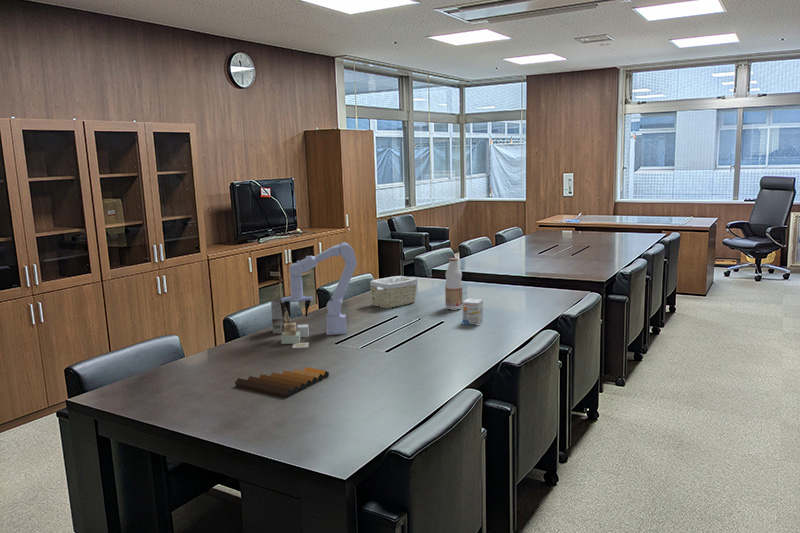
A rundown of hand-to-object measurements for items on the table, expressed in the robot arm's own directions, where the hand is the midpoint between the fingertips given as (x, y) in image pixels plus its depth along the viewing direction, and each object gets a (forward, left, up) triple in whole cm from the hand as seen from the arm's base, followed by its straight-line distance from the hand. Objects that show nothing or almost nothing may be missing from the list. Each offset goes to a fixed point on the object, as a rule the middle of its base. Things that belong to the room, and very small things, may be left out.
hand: (298, 316), depth 296 cm
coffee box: (+9, -9, -10) cm, 16 cm away
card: (-2, +17, -9) cm, 20 cm away
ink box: (-86, -8, -10) cm, 87 cm away
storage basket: (-50, -57, -10) cm, 76 cm away
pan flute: (+1, +63, -10) cm, 64 cm away
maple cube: (+3, +10, -6) cm, 12 cm away
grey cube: (-2, +1, -10) cm, 10 cm away
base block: (+3, +10, -9) cm, 14 cm away
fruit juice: (-82, -40, -10) cm, 92 cm away
